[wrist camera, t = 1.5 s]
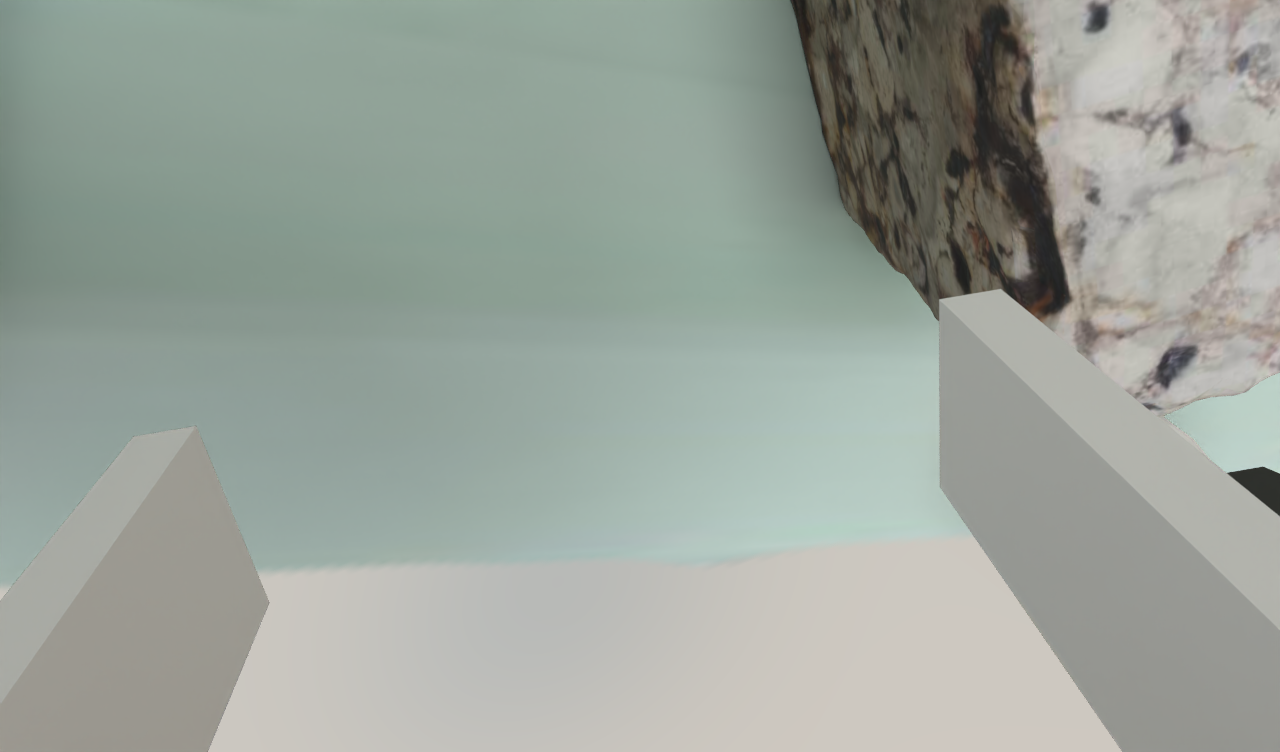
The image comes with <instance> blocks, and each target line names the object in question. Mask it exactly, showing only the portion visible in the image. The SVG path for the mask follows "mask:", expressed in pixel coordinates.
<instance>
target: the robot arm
mask: <svg viewBox="0 0 1280 752" xmlns="http://www.w3.org/2000/svg"><path fill="white" fill-rule="evenodd" d="M939 391H940V488H941V489H942V491H943V492H944V494H945V495H946V497H947V498H948V499H949V501H950V502H951V504H952V505H953V507H954V508H955V510H956V511H957V513H958V514H959V515H960V517H961V518H962V520H963V521H964V523H965V524H966V526H967V527H968V529H969V530H970V531H971V533H972V534H973V536H974V537H975V539H976V540H977V542H978V543H979V544H980V546H981V547H982V549H983V550H984V552H985V553H986V555H987V556H988V558H989V559H990V560H991V562H992V563H993V565H994V566H995V567H996V569H997V571H998V572H999V574H1000V575H1001V576H1002V578H1003V579H1004V581H1005V582H1006V584H1007V585H1008V586H1009V588H1010V589H1011V591H1012V592H1013V594H1014V595H1015V597H1016V598H1017V600H1018V601H1019V602H1020V604H1021V605H1022V607H1023V608H1024V610H1025V611H1026V613H1027V614H1028V616H1029V617H1030V618H1031V620H1032V621H1033V623H1034V624H1035V626H1036V627H1037V628H1038V630H1039V632H1040V633H1041V634H1042V636H1043V637H1044V639H1045V640H1046V642H1047V643H1048V645H1049V646H1050V647H1051V649H1052V650H1053V652H1054V653H1055V655H1056V656H1057V657H1058V659H1059V660H1060V662H1061V663H1062V665H1063V666H1064V668H1065V669H1066V671H1067V672H1068V674H1069V675H1070V677H1071V678H1072V679H1073V681H1074V682H1075V684H1076V685H1077V687H1078V688H1079V690H1080V691H1081V692H1082V694H1083V695H1084V697H1085V698H1086V700H1087V701H1088V703H1089V704H1090V706H1091V707H1092V708H1093V710H1094V711H1095V713H1096V714H1097V716H1098V717H1099V719H1100V720H1101V722H1102V723H1103V724H1104V726H1105V727H1106V729H1107V730H1108V732H1109V733H1110V735H1111V736H1112V738H1113V739H1114V740H1115V742H1116V743H1117V745H1118V746H1119V748H1120V749H1121V750H1122V752H1280V474H1279V473H1277V472H1274V471H1272V470H1270V469H1267V468H1265V467H1259V468H1253V469H1247V470H1241V471H1236V472H1230V473H1226V472H1225V471H1223V470H1222V469H1221V468H1220V467H1218V466H1217V465H1216V464H1215V463H1214V462H1212V461H1211V460H1210V459H1209V458H1207V457H1206V456H1205V455H1204V454H1203V453H1201V452H1200V451H1199V450H1198V449H1196V448H1195V447H1194V446H1193V445H1191V444H1190V443H1189V442H1188V441H1187V440H1185V439H1184V438H1183V437H1182V436H1180V435H1179V434H1178V433H1177V432H1176V431H1174V430H1173V429H1172V428H1171V427H1169V426H1168V425H1167V424H1166V423H1164V422H1163V421H1162V420H1161V419H1160V418H1158V417H1157V416H1156V415H1155V414H1153V413H1152V412H1151V411H1150V410H1149V409H1147V408H1146V407H1145V406H1144V405H1142V404H1141V403H1140V402H1139V401H1137V400H1136V399H1135V398H1134V397H1133V396H1131V395H1130V394H1129V393H1128V392H1126V391H1125V390H1124V389H1123V388H1122V387H1120V386H1119V385H1118V384H1117V383H1115V382H1114V381H1113V380H1112V379H1111V378H1109V377H1108V376H1107V375H1106V374H1104V373H1103V372H1102V371H1101V370H1099V369H1098V368H1097V367H1096V366H1095V365H1093V364H1092V363H1091V362H1090V361H1088V360H1087V359H1086V358H1085V357H1084V356H1082V355H1081V354H1080V353H1079V352H1077V351H1076V350H1075V349H1074V348H1072V347H1071V346H1070V345H1069V344H1068V343H1066V342H1065V341H1064V340H1063V339H1061V338H1060V337H1059V336H1058V335H1057V334H1055V333H1054V332H1053V331H1052V330H1050V329H1049V328H1048V327H1047V326H1045V325H1044V324H1043V323H1042V322H1041V321H1039V320H1038V319H1037V318H1036V317H1034V316H1033V315H1032V314H1031V313H1030V312H1028V311H1027V310H1026V309H1025V308H1023V307H1022V306H1021V305H1020V304H1019V303H1017V302H1016V301H1015V300H1014V299H1012V298H1011V297H1010V296H1009V295H1007V294H1006V293H1005V292H1004V291H1003V290H1001V289H997V290H991V291H986V292H980V293H974V294H968V295H962V296H956V297H950V298H944V299H939ZM268 605H269V600H268V598H267V596H266V593H265V591H264V588H263V586H262V584H261V581H260V579H259V576H258V574H257V571H256V569H255V567H254V564H253V562H252V559H251V557H250V555H249V552H248V550H247V547H246V545H245V542H244V540H243V538H242V535H241V533H240V530H239V528H238V525H237V523H236V521H235V518H234V516H233V513H232V511H231V509H230V506H229V504H228V501H227V499H226V496H225V494H224V492H223V489H222V487H221V484H220V482H219V480H218V477H217V475H216V472H215V470H214V467H213V465H212V463H211V460H210V458H209V455H208V453H207V451H206V448H205V446H204V443H203V441H202V438H201V436H200V434H199V431H198V429H197V426H192V427H186V428H180V429H174V430H169V431H163V432H157V433H151V434H145V435H139V436H133V438H132V439H131V440H130V441H129V443H128V444H127V445H126V446H125V448H124V449H123V450H122V451H121V452H120V454H119V455H118V456H117V457H116V459H115V460H114V461H113V462H112V464H111V465H110V466H109V467H108V468H107V470H106V471H105V472H104V473H103V475H102V476H101V477H100V478H99V480H98V481H97V482H96V483H95V485H94V486H93V487H92V488H91V489H90V491H89V492H88V493H87V494H86V496H85V497H84V498H83V499H82V501H81V502H80V503H79V504H78V505H77V507H76V508H75V509H74V510H73V512H72V513H71V514H70V515H69V517H68V518H67V519H66V520H65V521H64V523H63V524H62V525H61V526H60V528H59V529H58V530H57V531H56V533H55V534H54V535H53V536H52V537H51V539H50V540H49V541H48V542H47V544H46V545H45V546H44V547H43V549H42V550H41V551H40V552H39V554H38V555H37V556H36V557H35V558H34V560H33V561H32V562H31V563H30V565H29V566H28V567H27V568H26V570H25V571H24V572H23V573H22V574H21V576H20V577H19V578H18V579H17V581H16V582H15V583H14V584H13V586H12V587H11V588H10V589H9V590H8V592H7V593H6V594H5V595H4V597H3V598H2V599H1V601H0V752H208V750H209V747H210V745H211V743H212V740H213V738H214V735H215V733H216V731H217V728H218V726H219V723H220V721H221V719H222V716H223V714H224V711H225V709H226V706H227V704H228V702H229V699H230V697H231V694H232V692H233V689H234V687H235V685H236V682H237V680H238V677H239V675H240V672H241V670H242V668H243V665H244V663H245V660H246V658H247V656H248V653H249V651H250V648H251V646H252V644H253V641H254V638H255V636H256V634H257V631H258V629H259V627H260V624H261V622H262V619H263V617H264V614H265V612H266V610H267V607H268Z"/></svg>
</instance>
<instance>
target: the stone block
mask: <svg viewBox="0 0 1280 752" xmlns="http://www.w3.org/2000/svg"><path fill="white" fill-rule="evenodd" d="M791 1H792V4H793V8H794V11H795V14H796V17H797V21H798V25H799V30H800V34H801V39H802V43H803V47H804V52H805V56H806V61H807V65H808V69H809V74H810V78H811V82H812V86H813V91H814V95H815V99H816V103H817V106H818V110H819V113H820V117H821V120H822V129H823V135H824V138H825V141H826V144H827V147H828V150H829V153H830V155H831V158H832V161H833V164H834V167H835V169H836V172H837V175H838V181H839V189H840V194H841V198H842V201H843V204H844V207H845V210H846V211H847V213H848V214H849V215H850V216H851V217H852V219H853V221H855V222H856V223H857V224H858V225H859V226H860V227H861V228H862V229H863V230H864V231H865V233H866V235H867V236H868V238H869V239H870V241H871V242H872V244H873V245H874V246H875V247H876V249H877V250H878V252H880V253H881V254H882V255H883V256H884V257H885V258H886V260H887V261H888V262H889V264H890V265H891V266H892V267H893V268H894V269H895V270H896V271H898V272H900V273H902V274H904V275H905V276H906V277H907V278H908V279H909V280H910V281H911V283H912V285H913V286H914V288H915V289H916V290H917V292H918V293H919V294H920V296H921V297H922V299H923V300H924V302H925V303H926V304H927V305H928V306H929V307H930V309H931V311H932V312H933V314H934V316H935V318H936V319H937V320H938V321H939V299H944V298H950V297H956V296H962V295H968V294H974V293H980V292H986V291H991V290H997V289H1001V290H1003V291H1004V292H1005V293H1006V294H1007V295H1009V296H1010V297H1011V298H1012V299H1014V300H1015V301H1016V302H1017V303H1019V304H1020V305H1021V306H1022V307H1023V308H1025V309H1026V310H1027V311H1028V312H1030V313H1031V314H1032V315H1033V316H1034V317H1036V318H1037V319H1038V320H1039V321H1041V322H1042V323H1043V324H1044V325H1045V326H1047V327H1048V328H1049V329H1050V330H1052V331H1053V332H1054V333H1055V334H1057V335H1058V336H1059V337H1060V338H1061V339H1063V340H1064V341H1065V342H1066V343H1068V344H1069V345H1070V346H1071V347H1072V348H1074V349H1075V350H1076V351H1077V352H1079V353H1080V354H1081V355H1082V356H1084V357H1085V358H1086V359H1087V360H1088V361H1090V362H1091V363H1092V364H1093V365H1095V366H1096V367H1097V368H1098V369H1099V370H1101V371H1102V372H1103V373H1104V374H1106V375H1107V376H1108V377H1109V378H1111V379H1112V380H1113V381H1114V382H1115V383H1117V384H1118V385H1119V386H1120V387H1122V388H1123V389H1124V390H1125V391H1126V392H1128V393H1129V394H1130V395H1131V396H1133V397H1134V398H1135V399H1136V400H1137V401H1139V402H1140V403H1141V404H1142V405H1144V406H1145V407H1146V408H1147V409H1149V410H1150V411H1151V412H1152V413H1153V414H1155V415H1156V416H1157V417H1161V416H1164V415H1167V414H1169V413H1171V412H1173V411H1176V410H1178V409H1180V408H1182V407H1184V406H1186V405H1188V404H1190V403H1192V402H1194V401H1197V400H1201V399H1205V398H1209V397H1217V396H1234V395H1237V394H1241V393H1244V392H1246V391H1248V390H1249V389H1250V388H1252V387H1253V386H1255V385H1256V384H1258V383H1259V382H1260V381H1262V380H1264V379H1266V378H1268V377H1270V376H1272V375H1275V374H1277V373H1280V0H791Z"/></svg>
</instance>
